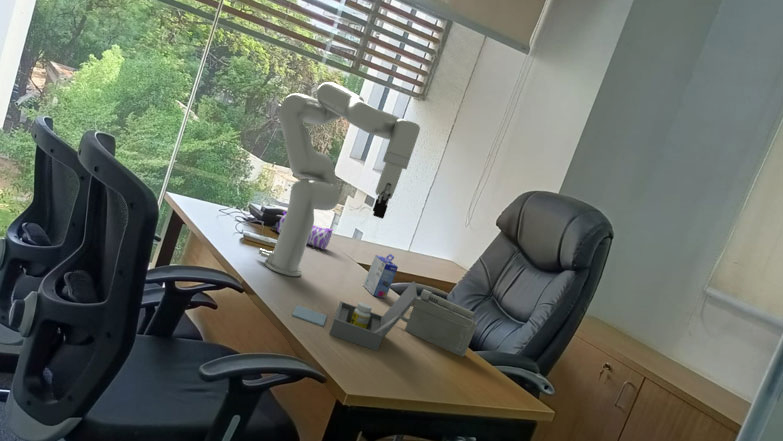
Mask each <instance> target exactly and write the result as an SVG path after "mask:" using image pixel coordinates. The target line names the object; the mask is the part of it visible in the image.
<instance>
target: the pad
mask: <svg viewBox="0 0 783 441" xmlns="http://www.w3.org/2000/svg"><path fill="white" fill-rule="evenodd" d="M291 316H292V317H295V318H298V319H300V320H304V321H306V322H309V323H312V324H314V325H317V326H320V327H324V326H325V324H326V323H325V322H326V320H327V315H326V314H324V313H321V312H318V311H314V310H312V309H310V308H308V307H304V306H301V305H299V304H297V305H296V307H295V309H294V311H293V313H292V314H291Z"/></svg>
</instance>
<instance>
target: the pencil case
mask: <svg viewBox="0 0 783 441" xmlns="http://www.w3.org/2000/svg"><path fill="white" fill-rule="evenodd" d="M286 213H287V211H286V210H285V211H282V215H283V216H282V217H281V218H280V220H279V221H276V222H275V225H274V226H275V227H277V233H278V234H280V231H281V228H282V225H283V222H284V219H285V216H286ZM333 231H334V229H333V228H328V227H326V228H325V227H323V228H322V227H318V226H316V225H314V224H313V227H312V230H311V233H310V236H309V239H308V242H307V245H310V246H313V247H315V248H318V249H321V250H323V251H324V250H325V249H326V248H327V247H328V245H329V243H330V240H331V237H332V234H333Z"/></svg>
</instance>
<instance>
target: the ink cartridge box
mask: <svg viewBox="0 0 783 441" xmlns="http://www.w3.org/2000/svg"><path fill="white" fill-rule="evenodd" d="M394 259H395V256H394V255H392V254H391V253H389V254H388V255H387V256H386V257H384V256H381V255H374V257H373V260H372V262H371V264H370V268H368V272H367V275H366V277H365V280H364V283H363V285H362V286H363V287H364V289H366V290H367V291H368V292H369V293H370V294H371V295H372V296H374V297H377V298H381V299H384V300H385V299H386V298H387V296H388V293H389V292H390V288H391V285H392V283H393V281H394V278H395V276H396V273H397V270H398V266H397V265H396V264H395V263H393V260H394Z"/></svg>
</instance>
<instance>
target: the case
mask: <svg viewBox="0 0 783 441" xmlns="http://www.w3.org/2000/svg"><path fill="white" fill-rule="evenodd" d="M416 284H417V283H416V281H412V282H411V283H410V285H408V286H407V288H406V289H405V290H404V291H403V292H402V293H401V294H400V296H399V297H398V298H397V299H396V301H394V303H393V304H392V305H391V306H390V307H389V308H388V310H387V311H386V312H385V313H384V315H381V314H377V313H376V312H373V311H371V312H370V318H369V321H368V324H367V326H366V329H364V328H362V327H359V326H356V325H353V324H350V321H351V318H352V316H353V313H354V310H355V309H356V308H357V306H356V305H352V304H350V303H347V302H345V301H341V300H340V301H339V304H338V305H337V306H338V307H337V309H336V312H335V315H334V318H333V321H332V323H331V327H330V330H329V335H331V336H333V337H336V338H339V339H342V340H345V341H347V342H349V343H353V344H356V345H358V346H360V347H363V348H366V349H369V350H373V351H376V352H378V350H379V347H380V346H381V342H382V340H383V337H386V335H388V333H389V332H390V331H391V330H392V329H393V328H394V327H395V325H396V324H397V323H398V321H400V320H402V319H403V317H405V314H406V313H407V312H408V311H409V309H410V308H411V307H412V305H413V306H414V304H415V302H416V300H417V297H418V293H417V285H416ZM348 321H349V322H348ZM367 328H368V329H367Z"/></svg>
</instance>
